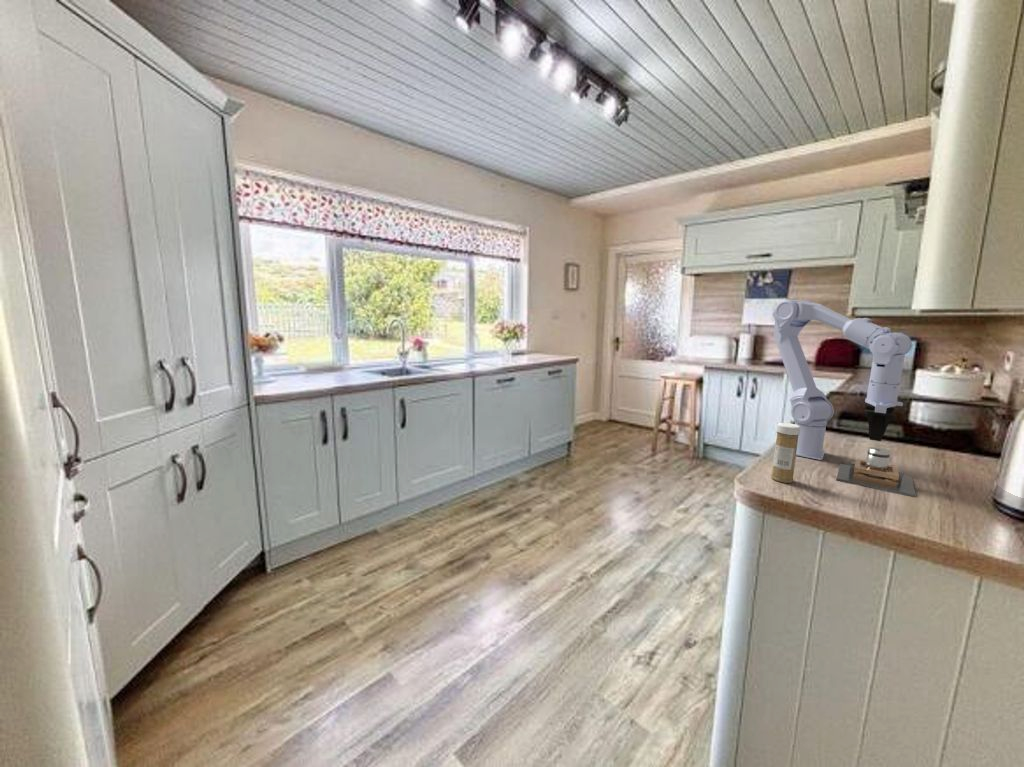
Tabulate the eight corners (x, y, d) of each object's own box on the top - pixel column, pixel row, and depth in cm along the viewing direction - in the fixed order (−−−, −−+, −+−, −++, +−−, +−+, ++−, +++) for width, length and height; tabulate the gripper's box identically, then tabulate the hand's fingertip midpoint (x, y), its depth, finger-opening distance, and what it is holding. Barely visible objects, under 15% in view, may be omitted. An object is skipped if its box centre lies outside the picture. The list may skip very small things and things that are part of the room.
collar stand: (839, 465, 116) (841, 453, 115) (911, 479, 107) (913, 466, 107) (836, 480, 105) (838, 467, 104) (915, 497, 96) (917, 483, 96)
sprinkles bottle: (796, 481, 104) (804, 425, 101) (787, 485, 101) (794, 428, 99) (776, 475, 107) (783, 421, 105) (766, 478, 105) (773, 423, 103)
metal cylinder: (863, 473, 109) (867, 446, 108) (884, 477, 106) (889, 449, 105) (863, 477, 106) (868, 449, 104) (885, 482, 103) (891, 453, 102)
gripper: (907, 388, 99) (897, 446, 101) (904, 381, 110) (895, 434, 112) (867, 384, 103) (858, 440, 105) (868, 378, 114) (860, 429, 116)
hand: (875, 437), depth 109 cm, fingers open, 7 cm apart
